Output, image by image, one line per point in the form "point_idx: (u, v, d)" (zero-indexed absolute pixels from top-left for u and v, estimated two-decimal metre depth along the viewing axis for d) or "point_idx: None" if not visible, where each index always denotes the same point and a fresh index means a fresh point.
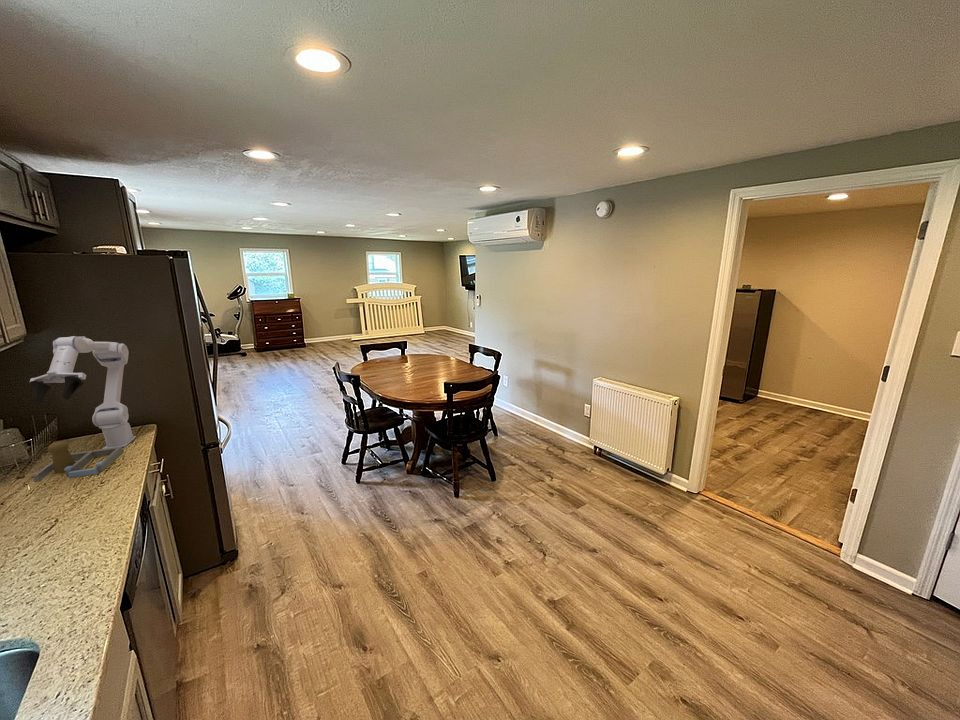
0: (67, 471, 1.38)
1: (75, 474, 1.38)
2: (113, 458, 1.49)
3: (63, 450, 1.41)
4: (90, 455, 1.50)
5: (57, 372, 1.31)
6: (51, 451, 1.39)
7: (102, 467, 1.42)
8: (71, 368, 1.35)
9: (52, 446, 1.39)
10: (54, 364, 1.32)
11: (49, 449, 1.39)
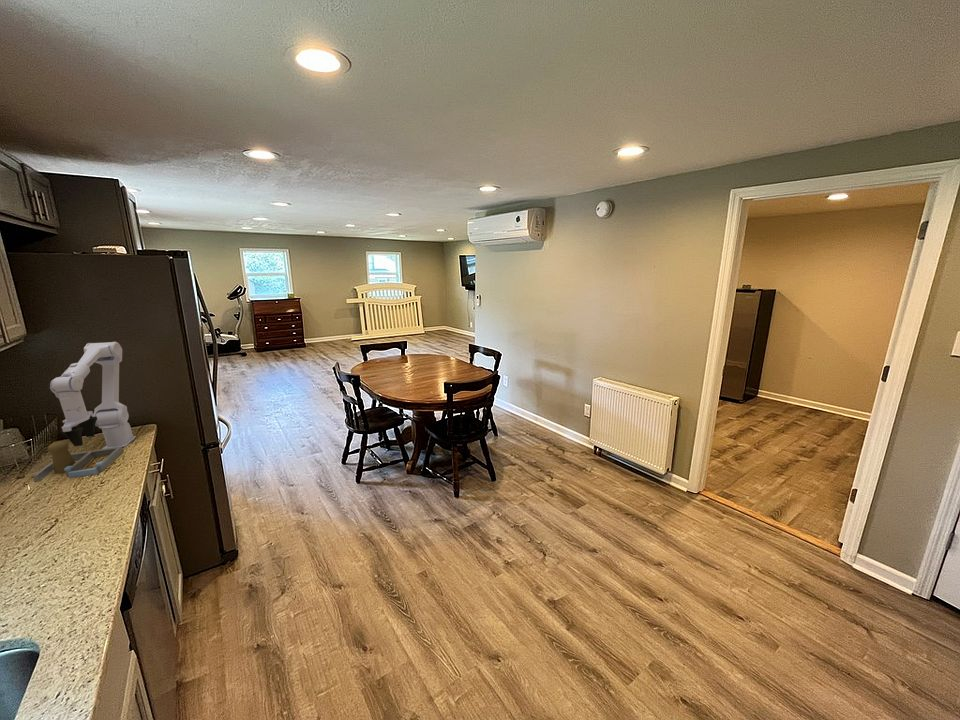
0: (67, 471, 1.38)
1: (75, 474, 1.38)
2: (113, 458, 1.49)
3: (63, 450, 1.41)
4: (90, 455, 1.50)
5: (65, 421, 1.39)
6: (51, 451, 1.39)
7: (102, 467, 1.42)
8: (69, 414, 1.37)
9: (52, 446, 1.39)
10: None
11: (49, 449, 1.39)
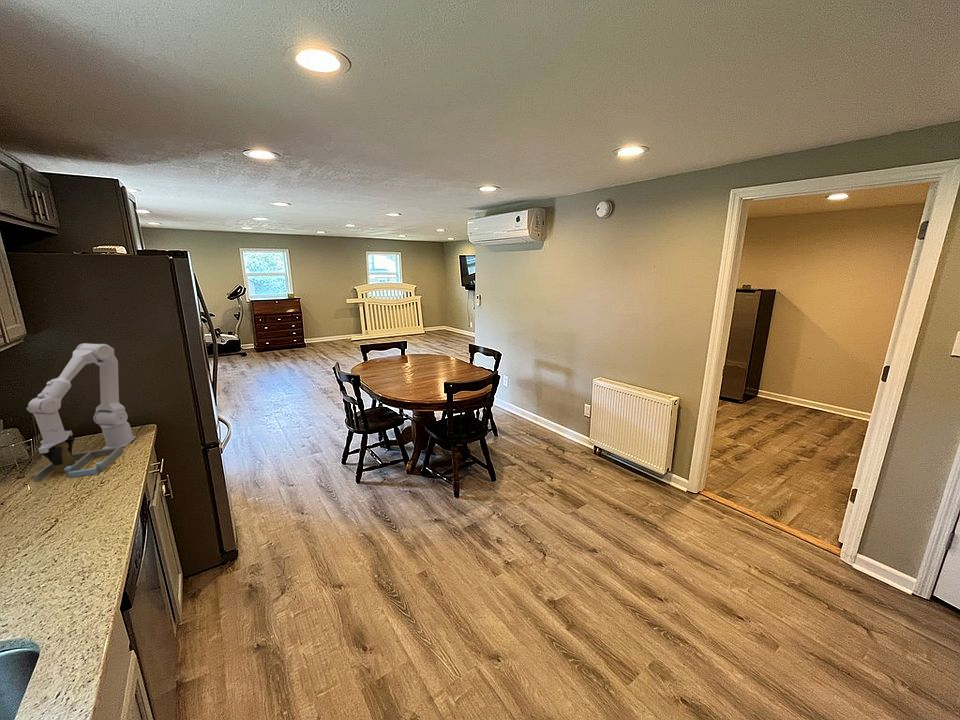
0: (67, 471, 1.38)
1: (75, 474, 1.38)
2: (113, 458, 1.49)
3: (63, 450, 1.41)
4: (90, 455, 1.50)
5: (43, 442, 1.38)
6: None
7: (102, 467, 1.42)
8: (47, 435, 1.37)
9: None
10: None
11: None
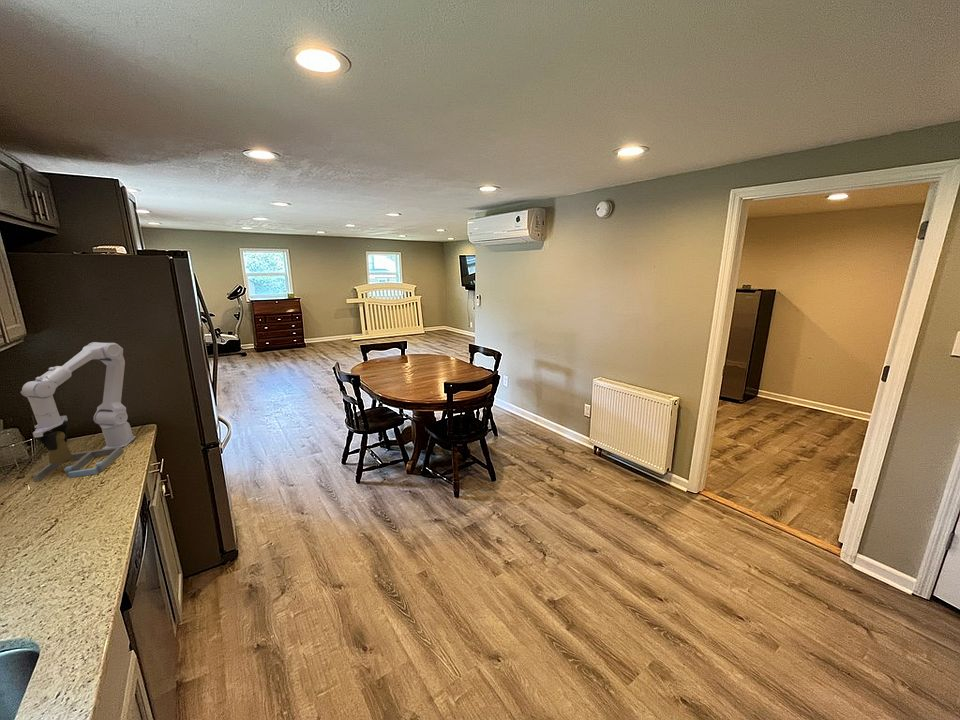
0: (67, 471, 1.38)
1: (75, 474, 1.38)
2: (113, 458, 1.49)
3: (59, 440, 1.39)
4: (90, 455, 1.50)
5: (37, 426, 1.36)
6: None
7: (102, 467, 1.42)
8: (41, 419, 1.35)
9: None
10: None
11: None
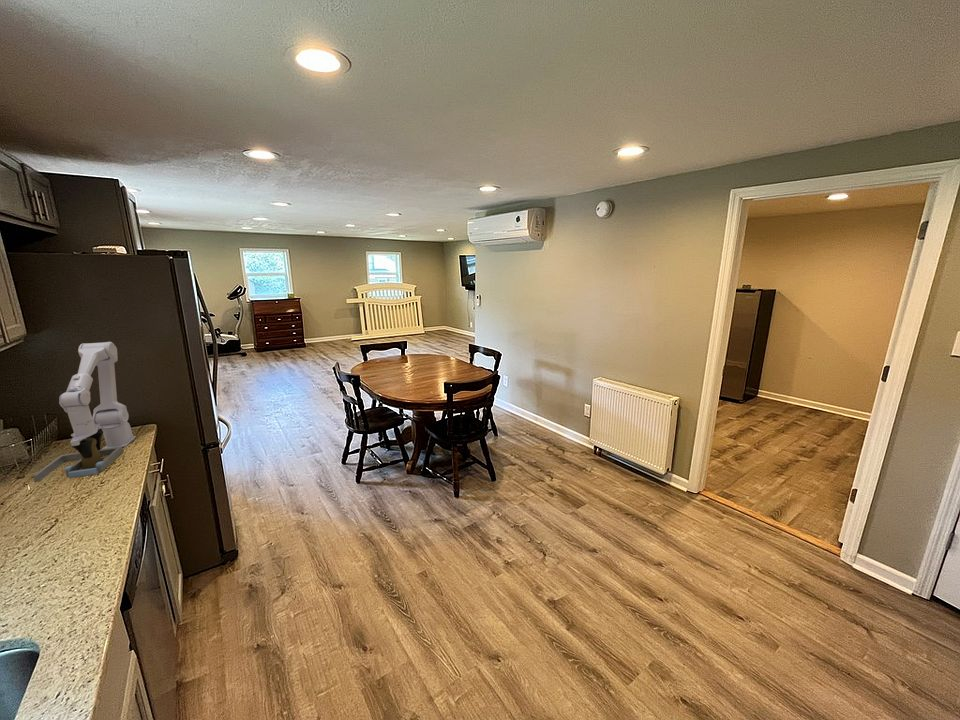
0: (67, 471, 1.38)
1: (75, 474, 1.38)
2: (113, 458, 1.49)
3: (91, 446, 1.43)
4: None
5: (74, 435, 1.41)
6: None
7: (102, 467, 1.42)
8: (78, 428, 1.39)
9: None
10: None
11: None
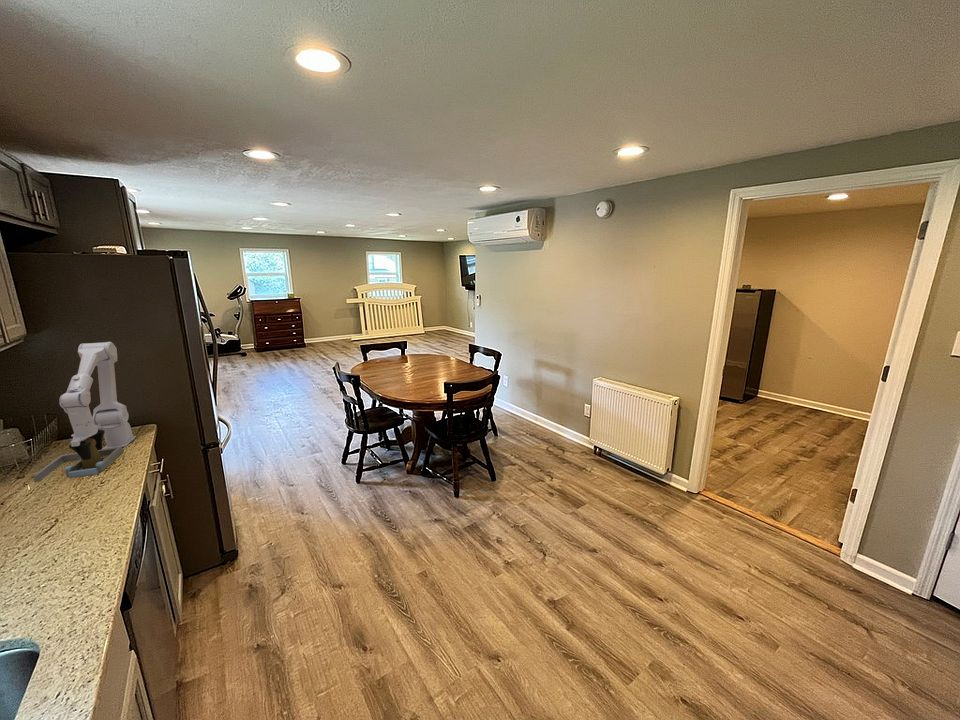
0: (67, 471, 1.38)
1: (75, 474, 1.38)
2: (113, 458, 1.49)
3: (90, 447, 1.43)
4: None
5: (74, 435, 1.41)
6: None
7: (102, 467, 1.42)
8: (78, 429, 1.39)
9: None
10: None
11: None
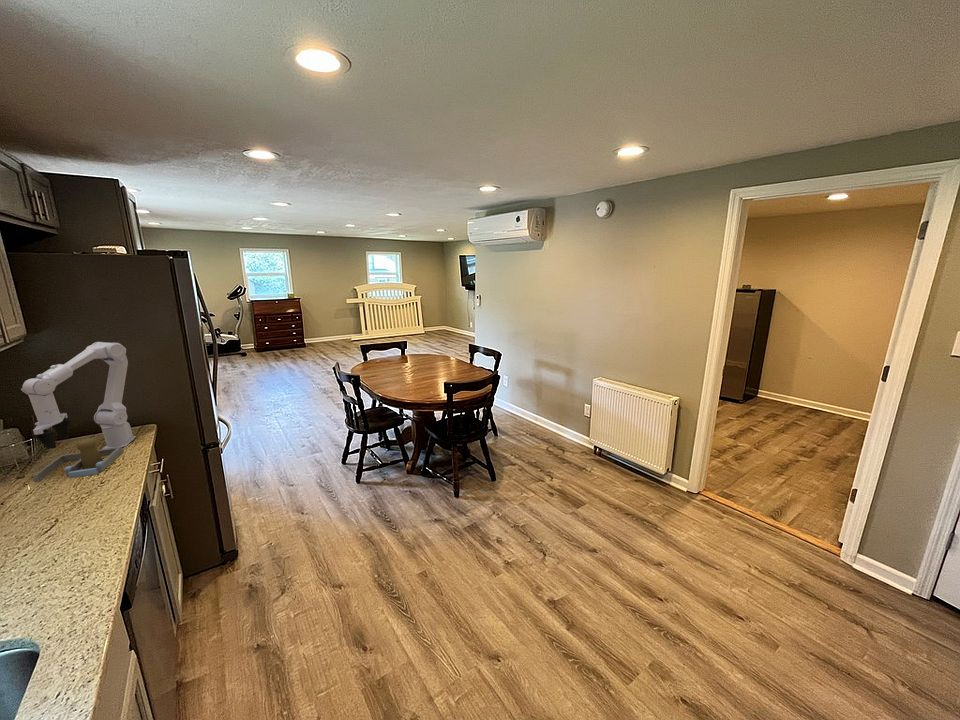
0: (67, 471, 1.38)
1: (75, 474, 1.38)
2: (113, 458, 1.49)
3: (90, 447, 1.43)
4: None
5: (38, 423, 1.37)
6: (79, 448, 1.41)
7: (102, 467, 1.42)
8: (42, 416, 1.36)
9: (80, 443, 1.41)
10: None
11: (77, 446, 1.41)
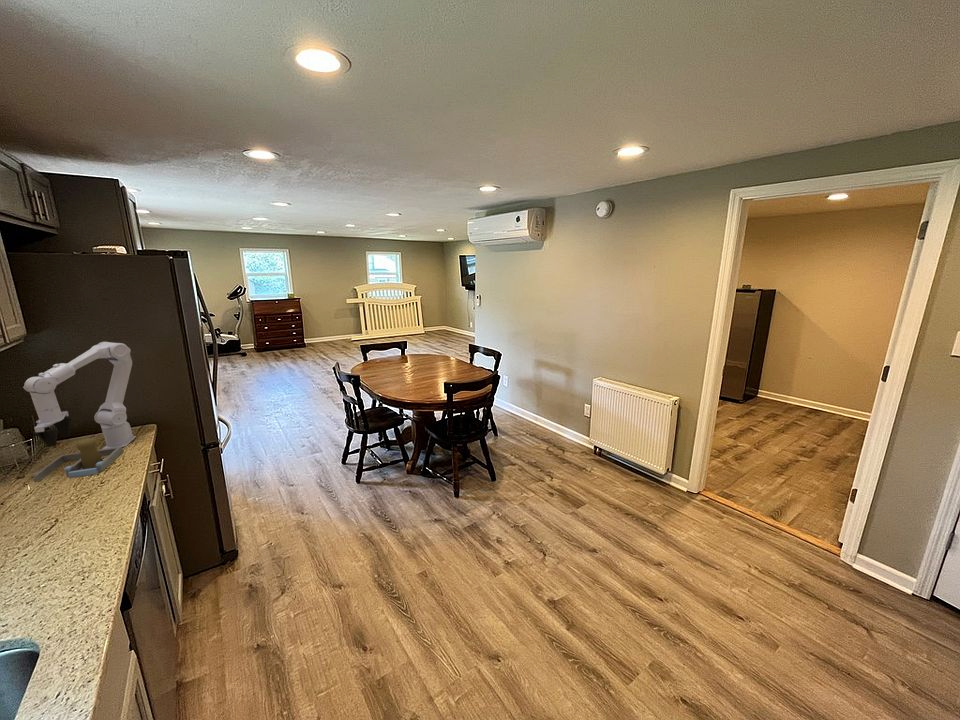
0: (67, 471, 1.38)
1: (75, 474, 1.38)
2: (113, 458, 1.49)
3: (90, 447, 1.43)
4: None
5: (39, 421, 1.38)
6: (79, 448, 1.41)
7: (102, 467, 1.42)
8: (43, 414, 1.37)
9: (80, 443, 1.41)
10: None
11: (77, 446, 1.41)
